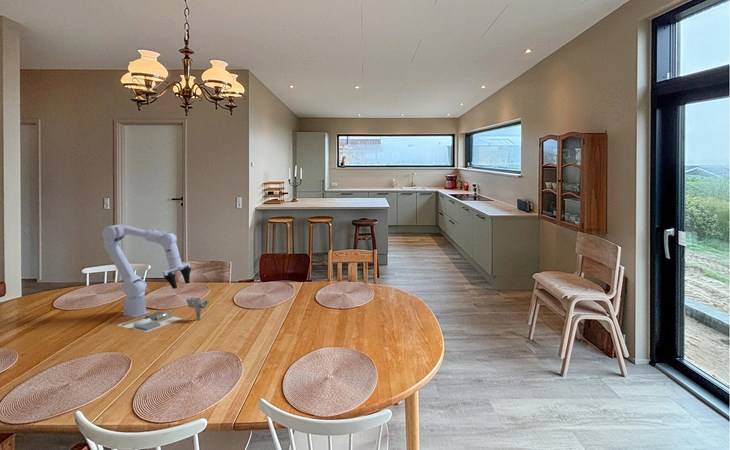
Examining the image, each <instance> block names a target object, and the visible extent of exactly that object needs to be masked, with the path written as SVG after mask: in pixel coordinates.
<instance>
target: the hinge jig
mask: <svg viewBox="0 0 730 450" xmlns="http://www.w3.org/2000/svg"><path fill="white" fill-rule="evenodd" d="M153 313H154V312H152V313H151V312H150V313H147V314H144V315H141V316H139V317H136V318H135V319H131V320H129V321H125V322H121V323H119V324H117V325H116V326H118V327H121V328H122V327H123V328H127V329H131V330H136V331H139V332H140V331H141V332H144V333H147V332H150V331H153V330H157V329H159V328H162V327H164V326H167V325H169V324H172V323H174V322H177V321H180V320H182V319H183V317H182V318H181V317H177V316H173V315H171V316H168V317H165V318H162V319H160V320H152V319H150V318H148V319H147V318H146V316H148V315H150V314H153Z"/></svg>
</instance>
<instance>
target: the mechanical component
mask: <svg viewBox="0 0 730 450" xmlns="http://www.w3.org/2000/svg"><path fill="white" fill-rule="evenodd" d="M186 303H187V307H188V308H190V309H195V310H194V312H195V313H196V315H195V316H196V321H200V320H201V311H202V309H206V308H207V307H208V305H209V303H210V302H209V300H208V299H204V300H202V298H195V297H190V298H187V299H186Z"/></svg>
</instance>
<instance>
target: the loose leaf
mask: <svg viewBox="0 0 730 450" xmlns="http://www.w3.org/2000/svg"><path fill="white" fill-rule="evenodd" d="M152 313H153V314H151V313H149V314H150V315H148V314H147V315H148V316H146V318H147V319H148V318H150V319H152V320H160V319H162V318H165V317H168V316H173V315H172V312H171V311H170V310H169V311H168V310H167V311H166V312H163V311H157V312H152Z"/></svg>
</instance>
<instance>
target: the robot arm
mask: <svg viewBox="0 0 730 450" xmlns="http://www.w3.org/2000/svg"><path fill="white" fill-rule="evenodd" d="M127 235H128V236H129V235H130V236H135V237H140V238H143V239H145V240H146V241H147V242H149V243H154V244H158V245H161V246H162V248H163V250H164V253H165V257H166V261H167V264H168V267H169V269H166V270H164V271H161V274H162V276H163V278H164V279H165V280H167V282H168V283H169V284H170V286H171V288H172V289H177V288H178V286H177V280H176V273H177V272H180V274H181V275H182V277H183V279H184V284H190V275H191V271H192V268H191V264H190V262H186V263H182V259H181V256H180V251H179V248H178V245H177V241H178V236H177V235H176V234H175V233H173V232H166V231H164V230H163V231H160V230H157V229H156V228H151V229H148V230H146V229H145V230H144V229H142V228H138V227H135V226H133V225H132V226H131V225H128V224H122V223H118V224H114V225H107V226H106V227H104V228H103V231H102V233H101V236H102V238H103V246H104V248H105V251H106V252H107V255H108V256H109V257H110V259H111V261H112V263H113V265H114V266H115V267H116V269H117V271H118V273H119V274H120V277H121V278H122V279H123V282H122V287H123V291H124V295H125V297H124V298H123V302H122V303H123V313H122V315H124V316H126V317H127V316H128V317H132V318H139V317H142V316H145V315H148V314H151V311H149V310H146V309H147V308H146V291H147V289H148V284H147V282H146V281H145V280H144V279H142V278H141V276H139V275H138V274H136V273H135V271H134V270H133V267H132V266H131V264H130V263H129V260H128V259H127V258H126V256H125V254H124V252H123V250H122V248H121V247H120V245H121V244H120V243H121V241H123V239H124V238H125V236H127Z"/></svg>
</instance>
